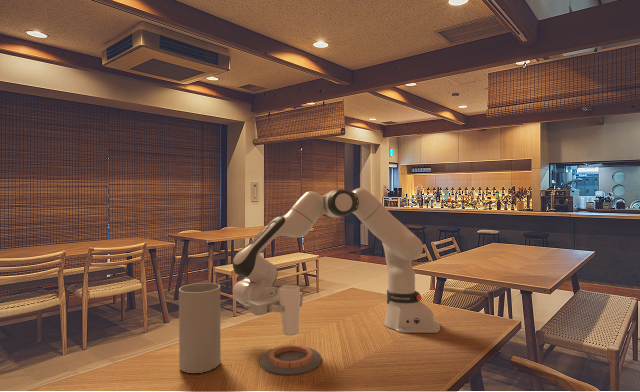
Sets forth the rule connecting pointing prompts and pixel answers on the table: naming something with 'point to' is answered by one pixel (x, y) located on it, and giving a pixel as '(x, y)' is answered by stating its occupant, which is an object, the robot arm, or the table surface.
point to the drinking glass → (290, 308)
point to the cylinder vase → (199, 327)
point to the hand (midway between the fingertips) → (292, 307)
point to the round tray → (290, 360)
